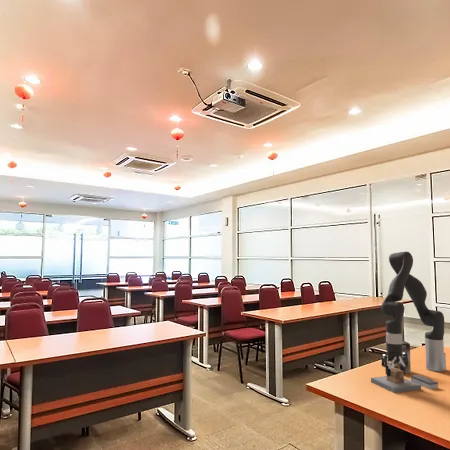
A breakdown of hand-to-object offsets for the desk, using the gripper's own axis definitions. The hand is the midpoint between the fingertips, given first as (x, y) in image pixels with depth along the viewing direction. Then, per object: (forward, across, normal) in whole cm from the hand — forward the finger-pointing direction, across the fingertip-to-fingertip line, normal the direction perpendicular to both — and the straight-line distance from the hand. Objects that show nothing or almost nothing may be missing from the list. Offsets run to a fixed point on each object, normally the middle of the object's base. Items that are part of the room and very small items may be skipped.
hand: (395, 375), depth 182 cm
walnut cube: (+3, 0, 0) cm, 3 cm away
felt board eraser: (+6, -15, +3) cm, 16 cm away
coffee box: (+6, -20, -18) cm, 27 cm away
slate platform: (+5, 0, 0) cm, 5 cm away
